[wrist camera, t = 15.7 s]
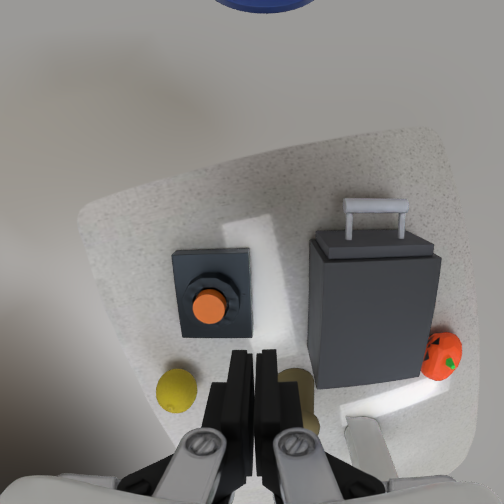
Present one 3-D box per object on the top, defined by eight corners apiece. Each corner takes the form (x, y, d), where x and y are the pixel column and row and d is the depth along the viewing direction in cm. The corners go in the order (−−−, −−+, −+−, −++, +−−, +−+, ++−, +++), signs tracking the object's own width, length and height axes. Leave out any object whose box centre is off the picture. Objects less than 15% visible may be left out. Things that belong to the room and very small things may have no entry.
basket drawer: (315, 194, 35) (328, 201, 28) (405, 194, 35) (436, 202, 27) (313, 334, 40) (322, 368, 32) (394, 327, 40) (415, 357, 32)
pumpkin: (410, 372, 43) (426, 397, 36) (417, 328, 40) (436, 351, 34) (447, 363, 42) (465, 385, 36) (456, 321, 40) (478, 340, 34)
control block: (176, 250, 39) (166, 259, 35) (249, 247, 38) (247, 257, 34) (185, 329, 42) (178, 344, 38) (252, 329, 41) (251, 345, 37)
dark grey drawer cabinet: (309, 239, 38) (323, 262, 29) (405, 237, 37) (441, 257, 28) (307, 345, 42) (316, 389, 32) (393, 338, 41) (419, 376, 32)
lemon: (181, 392, 44) (169, 428, 37) (157, 367, 43) (140, 401, 36) (209, 379, 44) (200, 415, 36) (184, 352, 42) (171, 387, 35)
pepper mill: (269, 397, 44) (270, 451, 33) (276, 366, 43) (279, 420, 32) (309, 400, 44) (317, 453, 33) (318, 369, 42) (330, 422, 32)
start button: (194, 288, 36) (190, 294, 34) (225, 288, 36) (223, 294, 34) (197, 317, 37) (194, 323, 35) (227, 317, 37) (225, 324, 35)
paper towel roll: (375, 436, 46) (407, 531, 26) (343, 442, 47) (365, 542, 26) (380, 408, 44) (420, 510, 24) (345, 415, 45) (374, 524, 24)
